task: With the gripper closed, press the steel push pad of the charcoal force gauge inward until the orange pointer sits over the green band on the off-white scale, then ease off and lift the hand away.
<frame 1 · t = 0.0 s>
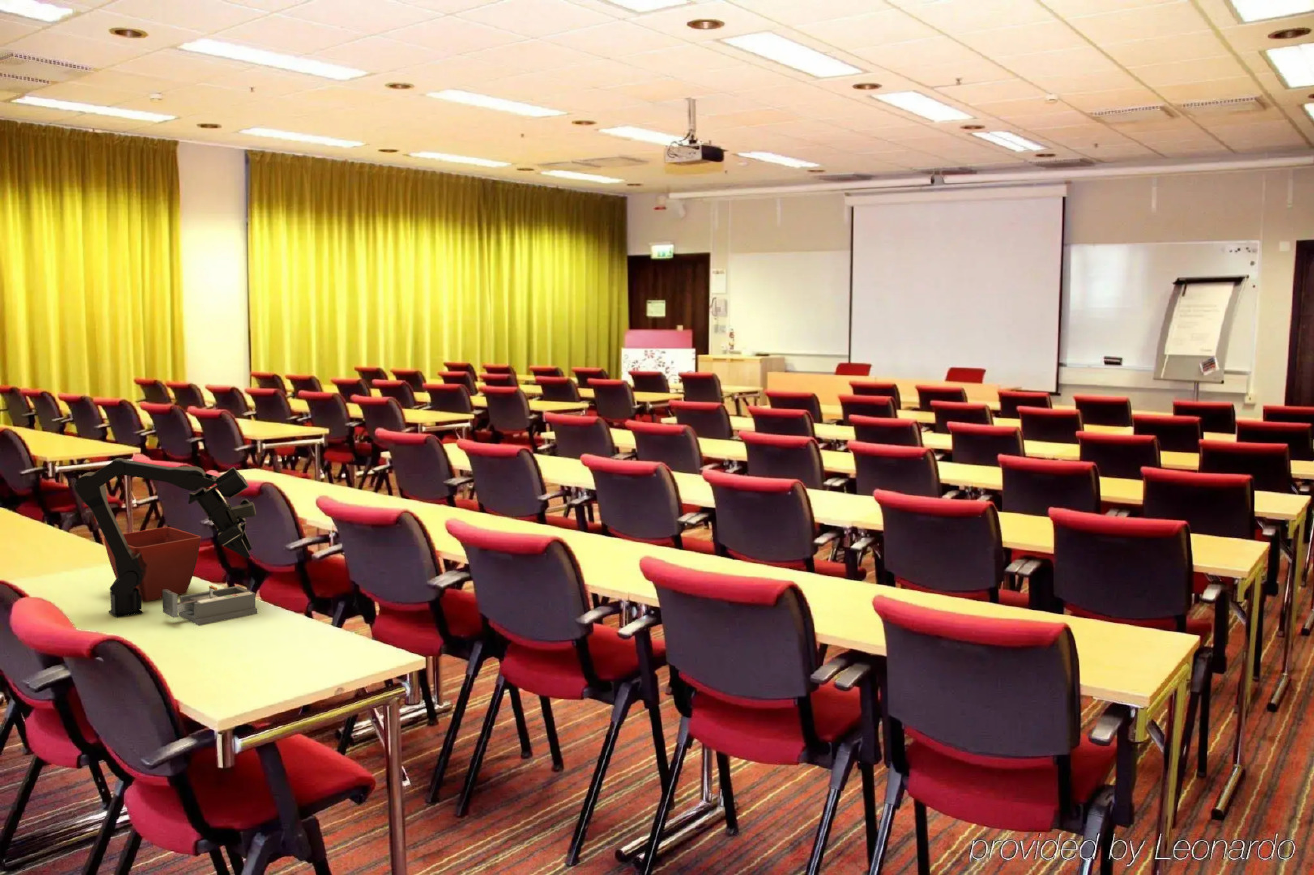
hand: (249, 553, 287), 15 cm above the table, tool tilted 35°, fingers open, 9 cm apart
plant pot: (154, 594, 298), on the table
gauge frame: (218, 614, 280), on the table
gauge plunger: (195, 600, 274), point 5 cm above the table, slide at 0.0 cm
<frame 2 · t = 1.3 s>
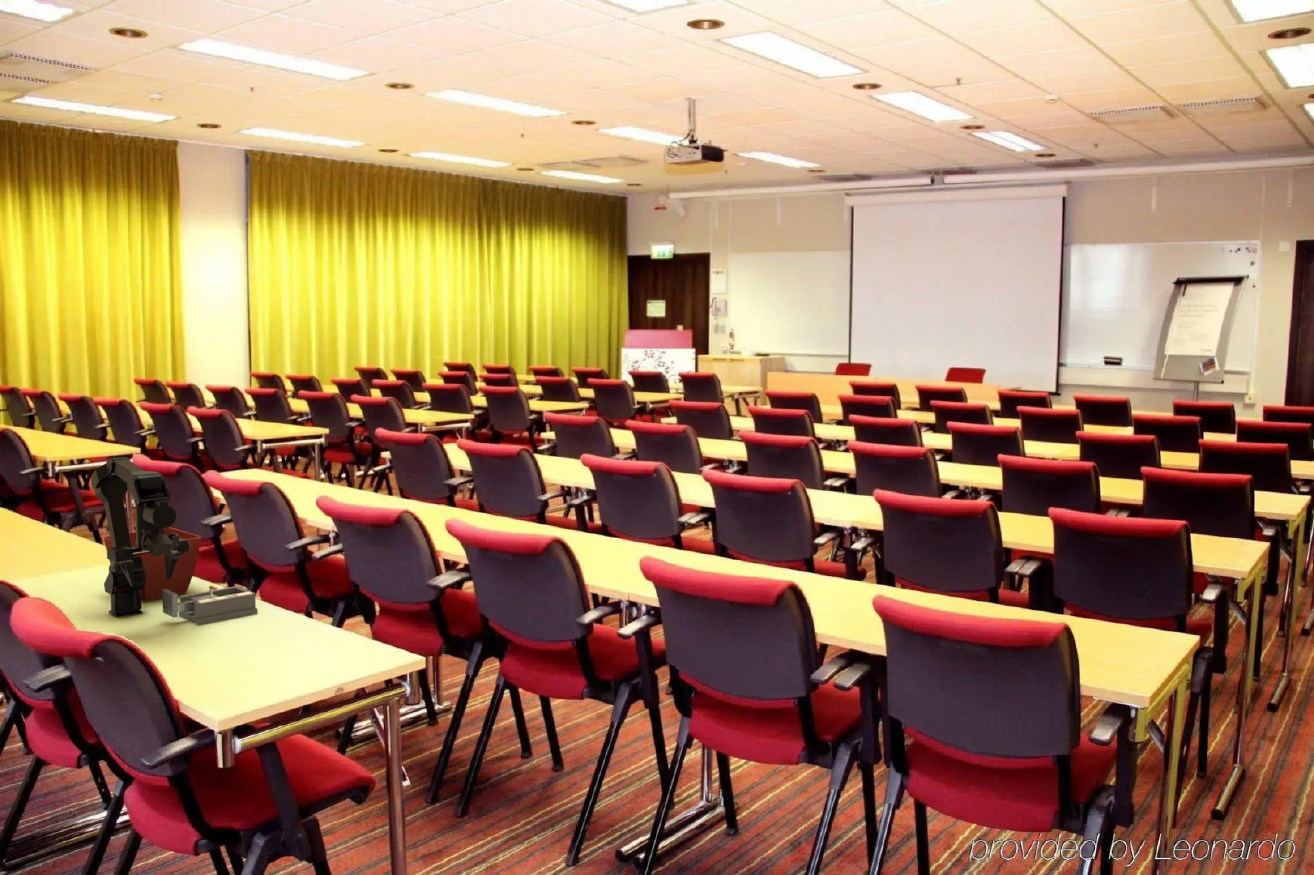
hand: (150, 582, 265), 12 cm above the table, tool pointing down, fingers open, 9 cm apart
nothing on the table moved.
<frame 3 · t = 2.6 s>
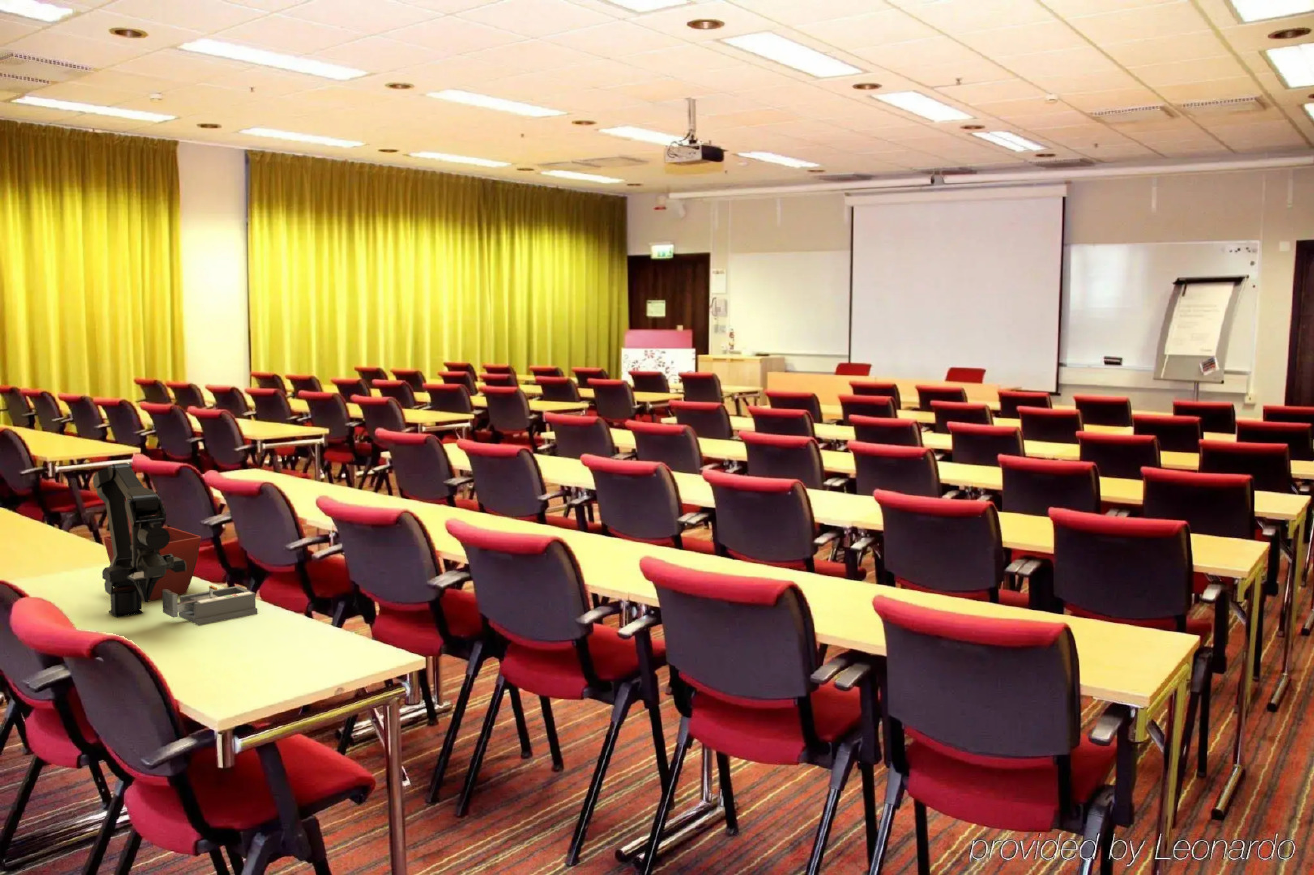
hand: (146, 602, 266), 7 cm above the table, tool pointing down, fingers closed
nothing on the table moved.
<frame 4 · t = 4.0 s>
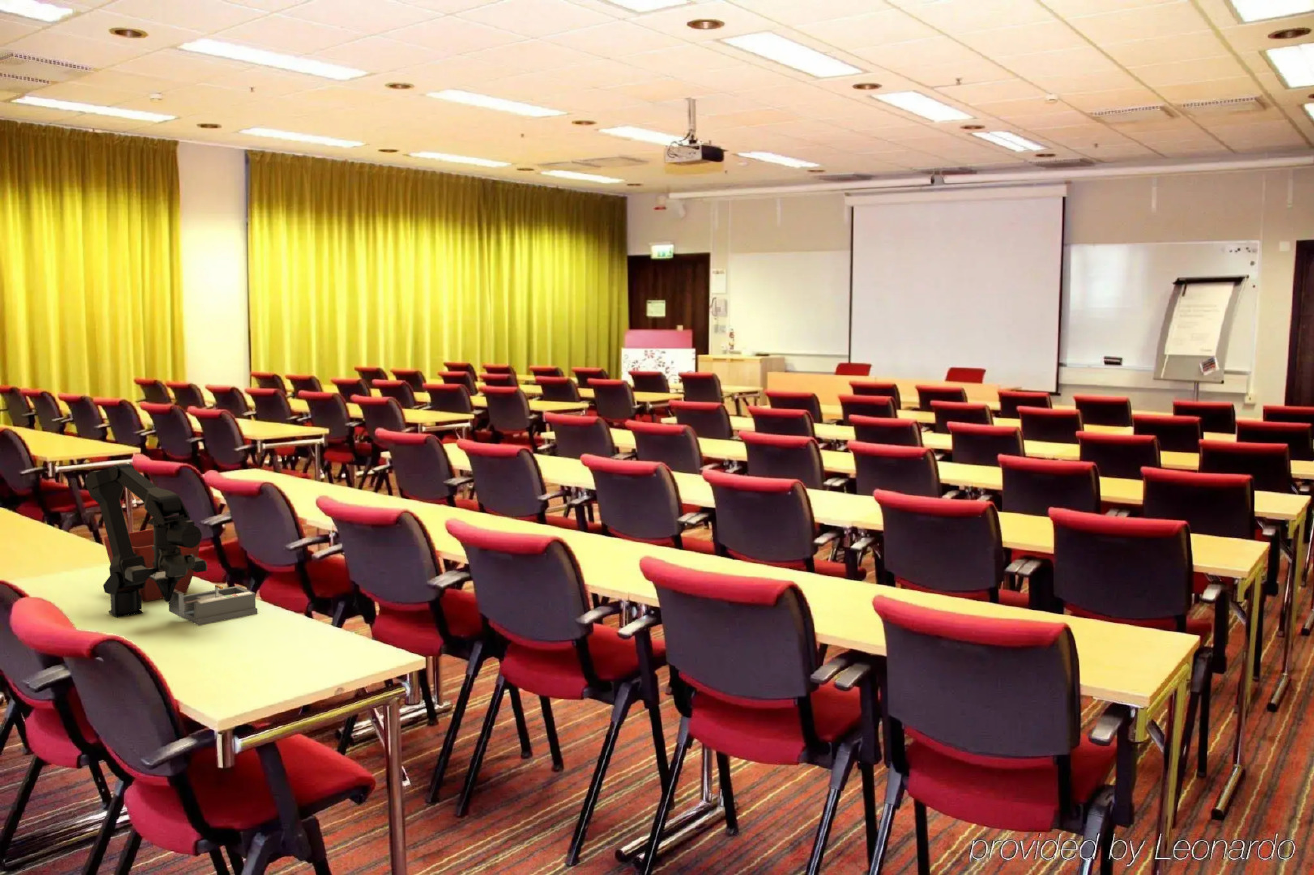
hand: (167, 601, 270), 6 cm above the table, tool pointing down, fingers closed
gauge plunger: (201, 599, 275), point 5 cm above the table, slide at 1.6 cm, touching gripper
everything else where it was.
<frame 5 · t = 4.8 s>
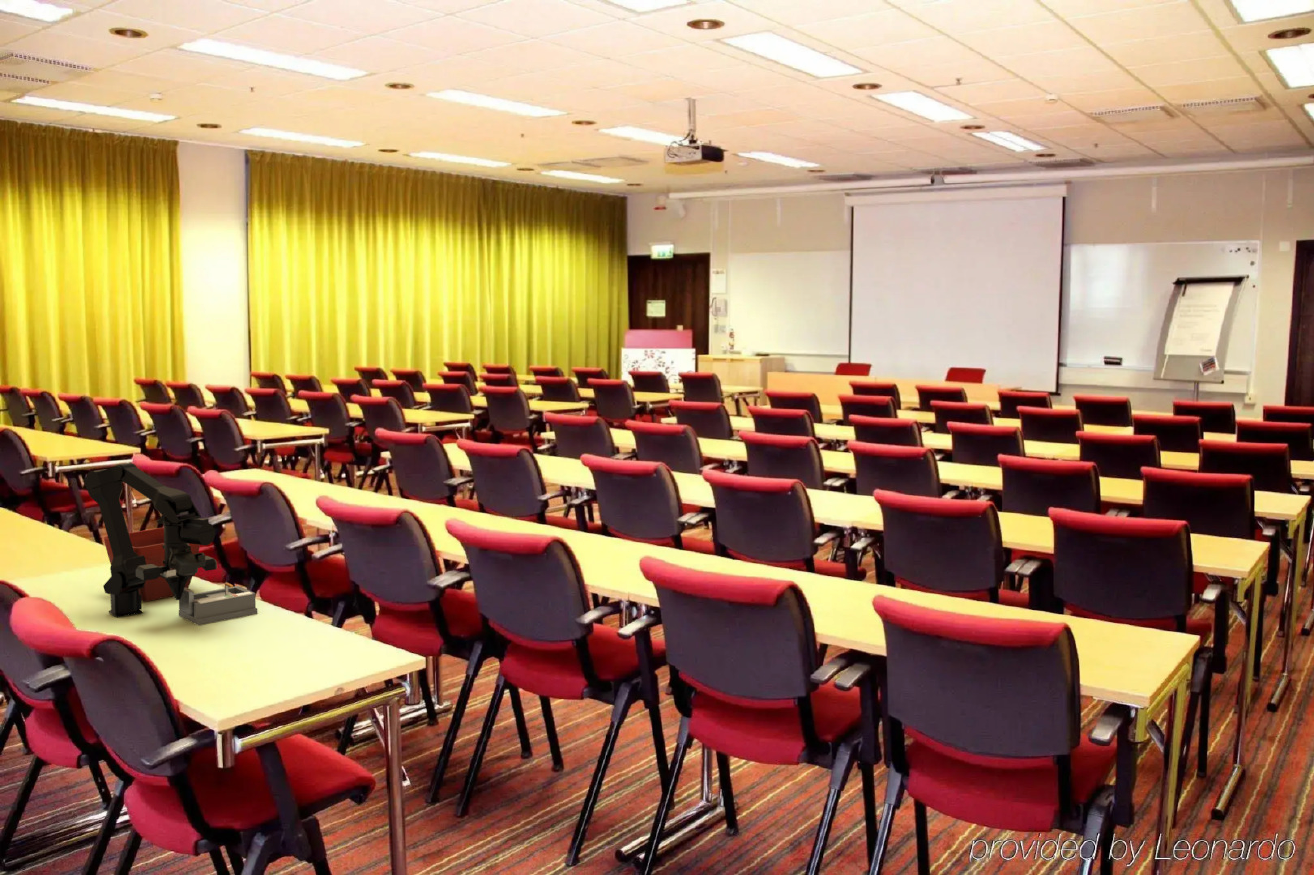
hand: (177, 599, 272), 6 cm above the table, tool pointing down, fingers closed
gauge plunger: (210, 597, 277), point 5 cm above the table, slide at 4.2 cm, touching gripper
everything else where it was.
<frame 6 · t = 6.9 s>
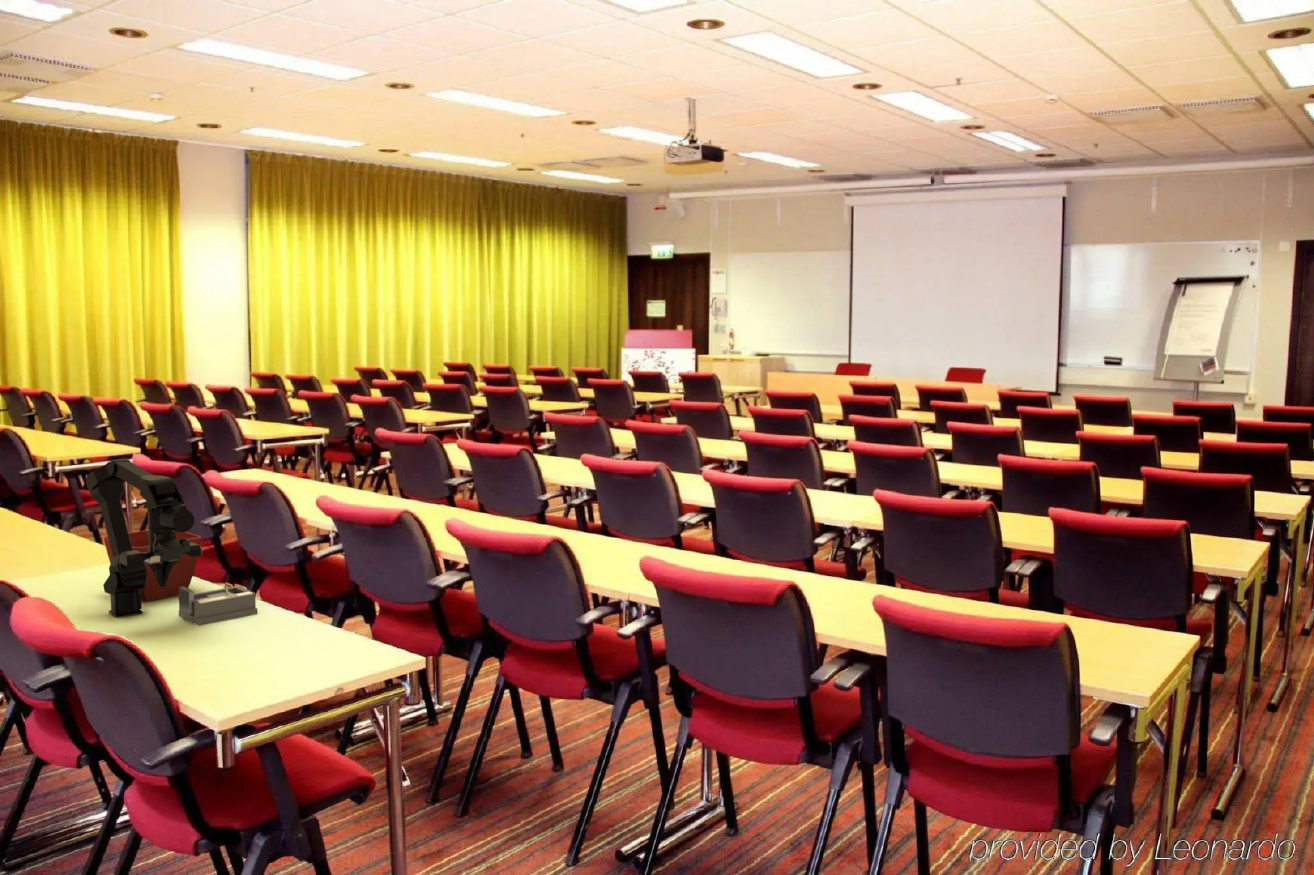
hand: (162, 586, 268), 10 cm above the table, tool pointing down, fingers closed
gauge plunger: (211, 597, 277), point 5 cm above the table, slide at 4.2 cm
everything else where it was.
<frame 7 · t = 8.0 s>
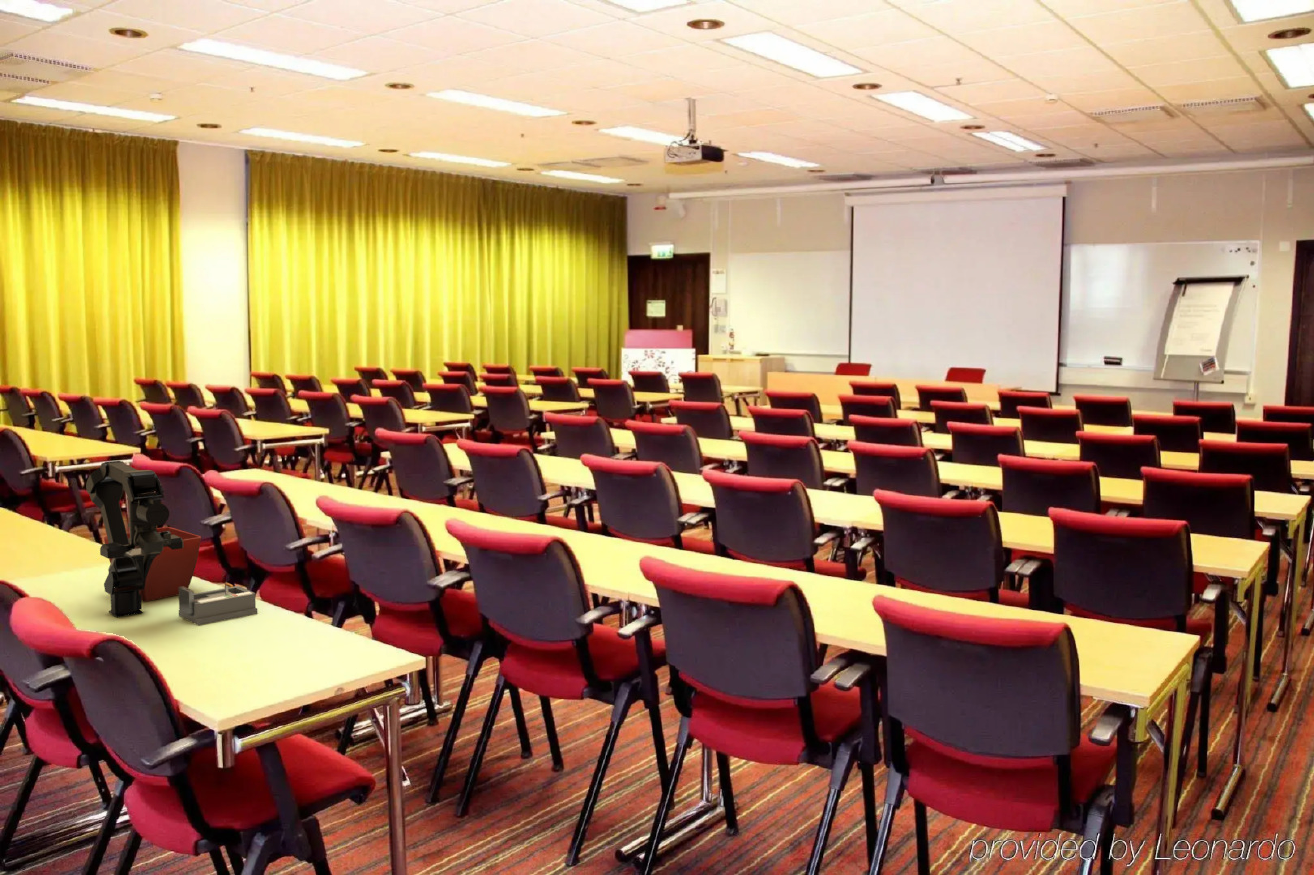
hand: (143, 579, 268), 12 cm above the table, tool pointing down, fingers closed
nothing on the table moved.
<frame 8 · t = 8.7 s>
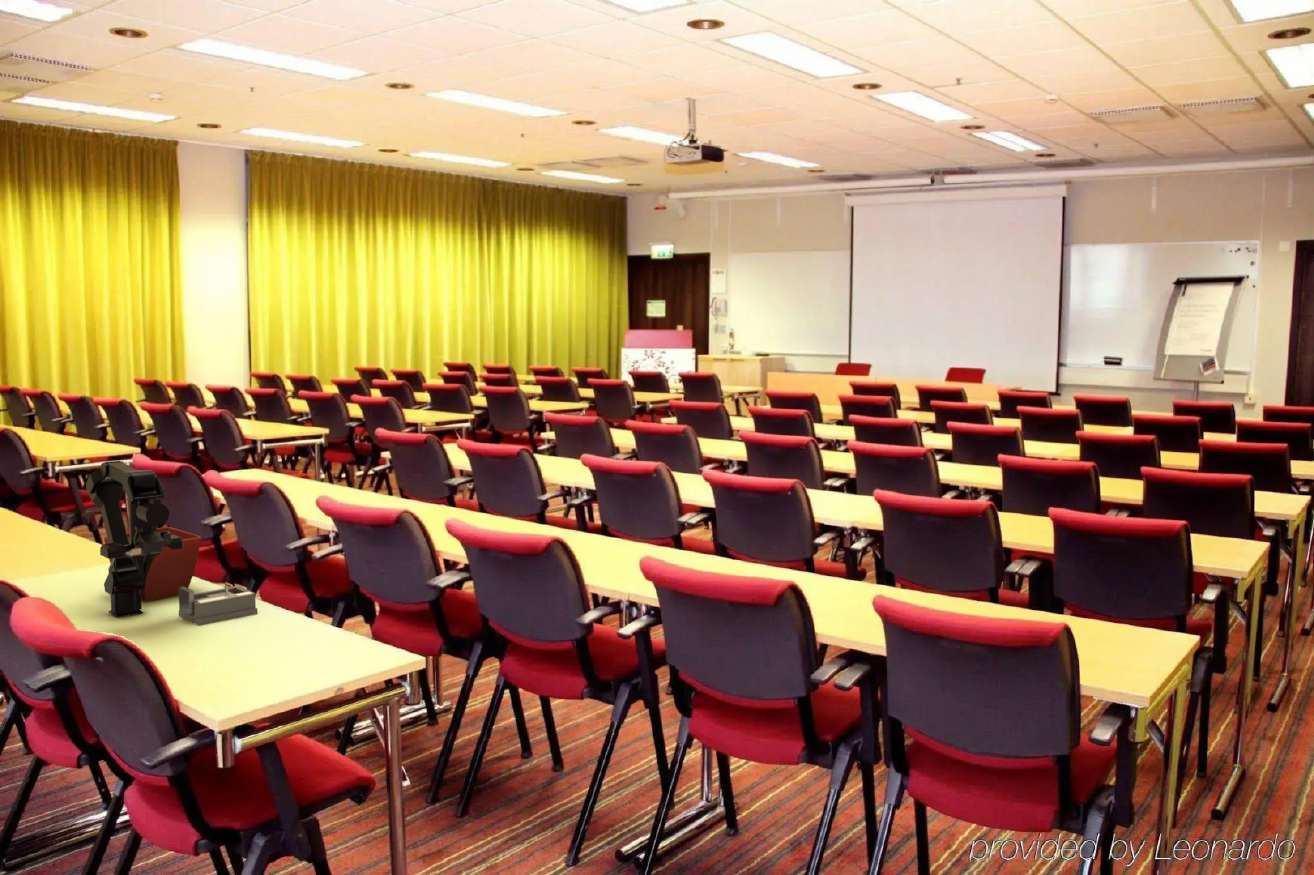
hand: (143, 579, 268), 12 cm above the table, tool pointing down, fingers closed
nothing on the table moved.
at the end: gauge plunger slide at 4.2 cm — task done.
